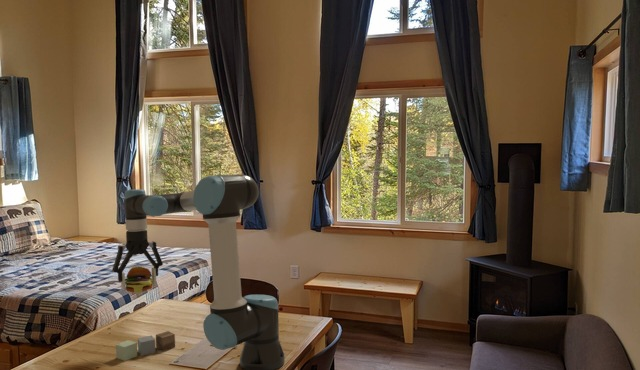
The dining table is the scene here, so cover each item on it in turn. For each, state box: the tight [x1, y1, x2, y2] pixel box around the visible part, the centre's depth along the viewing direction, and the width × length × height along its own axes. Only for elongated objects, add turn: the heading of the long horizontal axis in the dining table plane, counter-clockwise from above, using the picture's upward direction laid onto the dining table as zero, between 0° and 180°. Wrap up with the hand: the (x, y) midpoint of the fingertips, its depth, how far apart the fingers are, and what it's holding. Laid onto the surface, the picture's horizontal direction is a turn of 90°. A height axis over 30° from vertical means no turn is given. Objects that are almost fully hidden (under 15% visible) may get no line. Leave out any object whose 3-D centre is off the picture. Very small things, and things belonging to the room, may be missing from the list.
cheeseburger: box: [125, 266, 153, 295], centre depth 184 cm, size 10×11×10 cm
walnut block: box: [155, 331, 176, 352], centre depth 181 cm, size 5×5×5 cm
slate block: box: [137, 335, 156, 356], centre depth 177 cm, size 5×5×5 cm
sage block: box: [115, 339, 138, 362], centre depth 172 cm, size 5×5×5 cm
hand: (139, 287), depth 184 cm, fingers closed on cheeseburger, 11 cm apart
